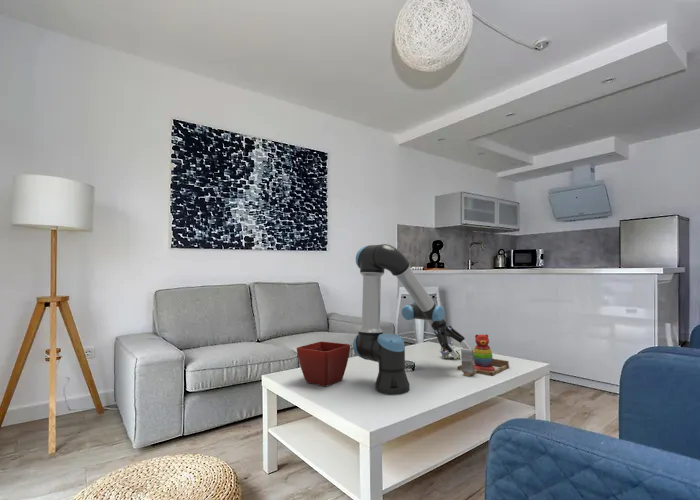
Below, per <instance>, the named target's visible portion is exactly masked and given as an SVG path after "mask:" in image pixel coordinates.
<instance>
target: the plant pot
mask: <svg viewBox="0 0 700 500" xmlns="http://www.w3.org/2000/svg"><path fill="white" fill-rule="evenodd" d="M350 351H351V344H349V343H348V344H347V343H339V342H332V341H331V342H330V341H318V342H313V343H309V344H306V345H301V346H298V347H296V353H297V358H298V362H299V366H300V369H301V372H302V375H303V377H304V378H303V379H304V380H305V381H306V383H307V382H309V383H308V384H312V383H313V384H312V385H316V384H317V385H318V386H321V385H322V387H328V386H331V385H333V384H336V383H338V382H340V381H341V382H342V381H343V378H344V375H345V372H346V369H347V366H348V361H349V356H350Z"/></svg>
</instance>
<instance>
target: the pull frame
mask: <svg viewBox="0 0 700 500" xmlns="http://www.w3.org/2000/svg"><path fill="white" fill-rule="evenodd" d="M460 351H461V352H460V354H461V355H460V358H461V359H460V360H461V365H458V366H457V368H456V370H459V371H461V373H462V374H463V375H462V376H463V377H472V376H475V375H476V374H481V375H485V376H490V377H493V376H495V375H497V374H499V373H502V372H504V371H506V370H508V369H509V368H510V364H509V360H505V359H504V360H503V359H499V358H493V359H492V366H493V367H496V369H495V370H494V371H492V372H489V371H484V370H478V369H474V365H475V361H474V349H472V348H471V349H467V348H463V347H462V348H460ZM497 367H498V368H497Z"/></svg>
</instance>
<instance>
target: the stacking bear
mask: <svg viewBox="0 0 700 500" xmlns="http://www.w3.org/2000/svg"><path fill="white" fill-rule="evenodd" d="M474 339H475V343H476V346H474V361H475V364H474V369H478V370H484V371H489V372H492V371H494V370H496V369H495V366H492V359H494V358H493V357H494V356H493V353H492V349H491V347H490V346H489V343H490V339H489V335H488V334H475V335H474Z"/></svg>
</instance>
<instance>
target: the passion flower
mask: <svg viewBox="0 0 700 500" xmlns="http://www.w3.org/2000/svg"><path fill="white" fill-rule="evenodd" d="M448 345H451V346H452V348H453V349H454V350H455V348H456V344H453V340H452V341H450V342H448ZM438 351H439V353H440V354H441V357H442V360H445V359H447V358H449V355H451V354H450V353H449V352H448V350H447V349H446V348H445V349H443V348H442V347H441V346H440V350H438ZM455 351H456V353H457V354H458V355H459V356H458V357H457V358H456V359H454V360H455V361H457V360H458V359H459V360H461V359H460V358H461V355H460V354H461V353H460V352H458V351H460V349H458V350H455Z"/></svg>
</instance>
